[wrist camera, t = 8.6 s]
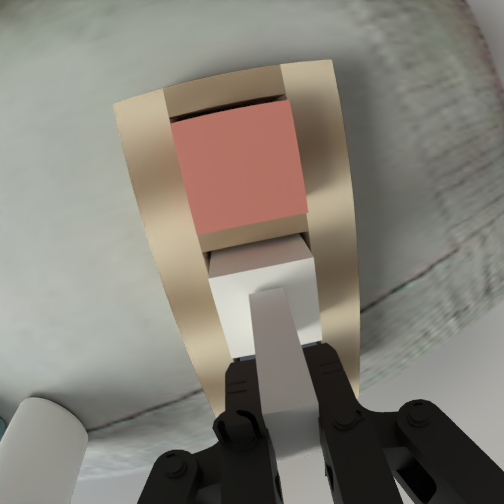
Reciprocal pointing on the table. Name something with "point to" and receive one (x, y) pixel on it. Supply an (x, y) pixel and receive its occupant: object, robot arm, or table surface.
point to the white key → (264, 287)
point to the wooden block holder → (200, 246)
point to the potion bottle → (41, 454)
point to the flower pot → (2, 428)
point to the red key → (240, 166)
